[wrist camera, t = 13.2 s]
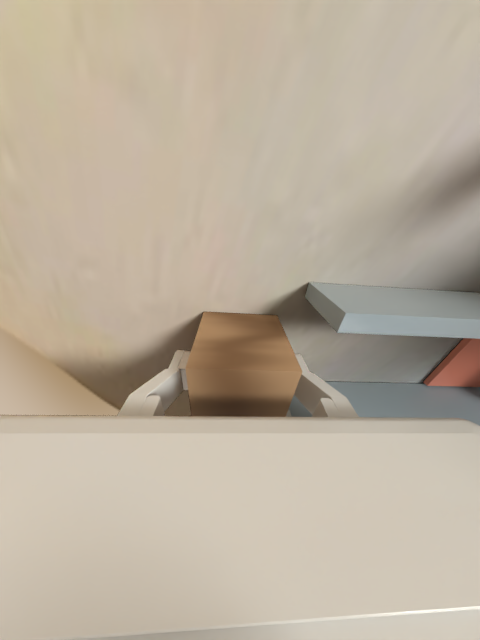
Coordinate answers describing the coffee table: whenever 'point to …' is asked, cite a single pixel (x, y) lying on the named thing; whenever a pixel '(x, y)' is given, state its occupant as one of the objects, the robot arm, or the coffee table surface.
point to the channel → (409, 320)
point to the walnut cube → (241, 367)
